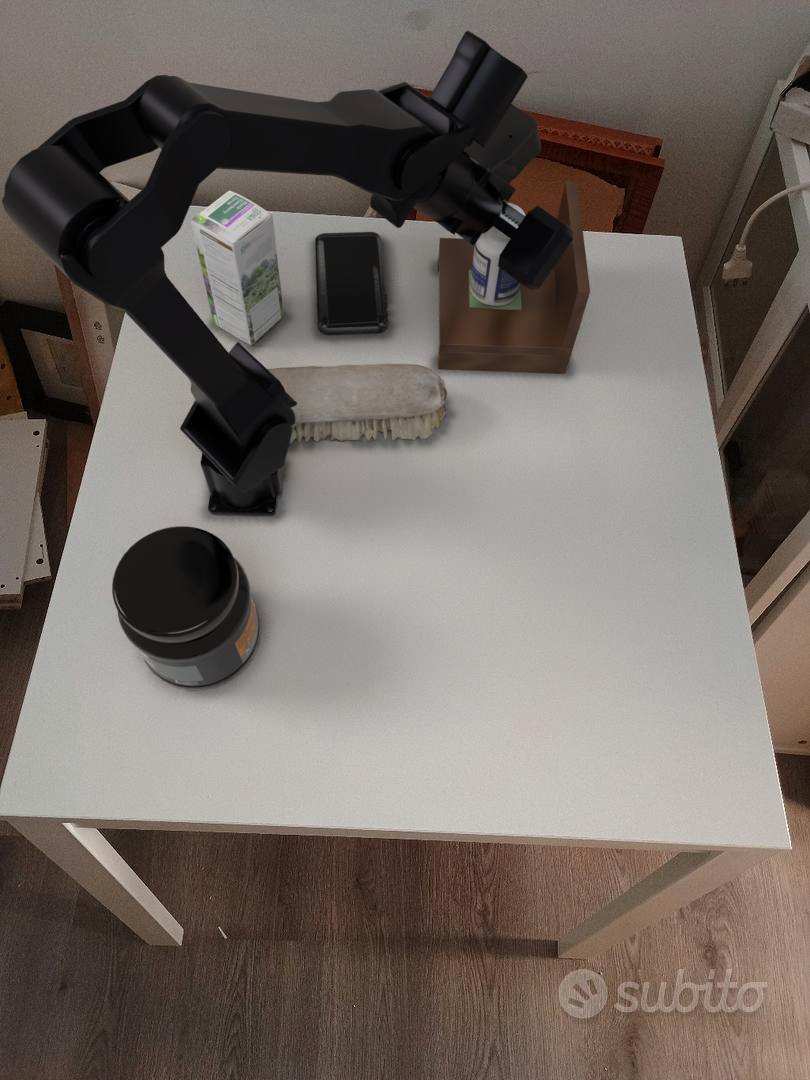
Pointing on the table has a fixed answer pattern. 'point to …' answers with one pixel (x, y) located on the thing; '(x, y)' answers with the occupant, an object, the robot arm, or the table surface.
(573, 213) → the wooden corner stand
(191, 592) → the supplement container
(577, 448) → the table surface
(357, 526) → the table surface
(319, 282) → the phone
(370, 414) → the shoe brush
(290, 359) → the table surface
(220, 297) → the syrup box
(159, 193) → the robot arm
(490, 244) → the pill bottle
